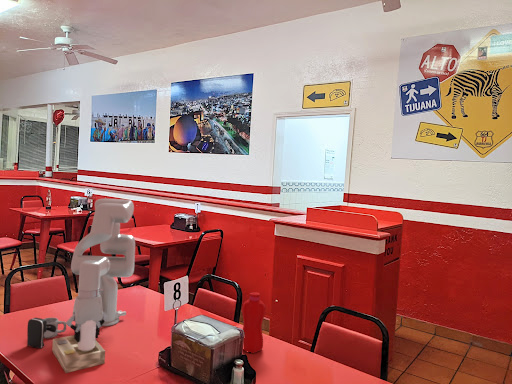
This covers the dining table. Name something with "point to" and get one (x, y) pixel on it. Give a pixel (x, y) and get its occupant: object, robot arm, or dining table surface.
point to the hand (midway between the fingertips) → (86, 338)
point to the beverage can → (87, 336)
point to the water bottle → (253, 323)
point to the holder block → (76, 354)
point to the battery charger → (36, 332)
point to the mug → (53, 327)
